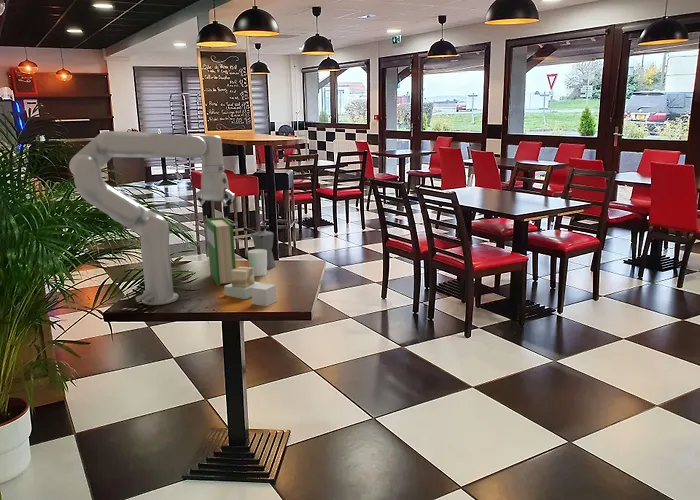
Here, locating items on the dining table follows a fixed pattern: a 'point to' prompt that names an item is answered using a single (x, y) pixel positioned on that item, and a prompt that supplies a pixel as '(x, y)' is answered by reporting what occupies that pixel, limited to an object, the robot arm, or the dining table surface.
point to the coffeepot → (265, 244)
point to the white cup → (258, 261)
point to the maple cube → (242, 277)
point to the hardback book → (221, 249)
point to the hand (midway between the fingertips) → (216, 215)
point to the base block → (239, 291)
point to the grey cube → (264, 294)
